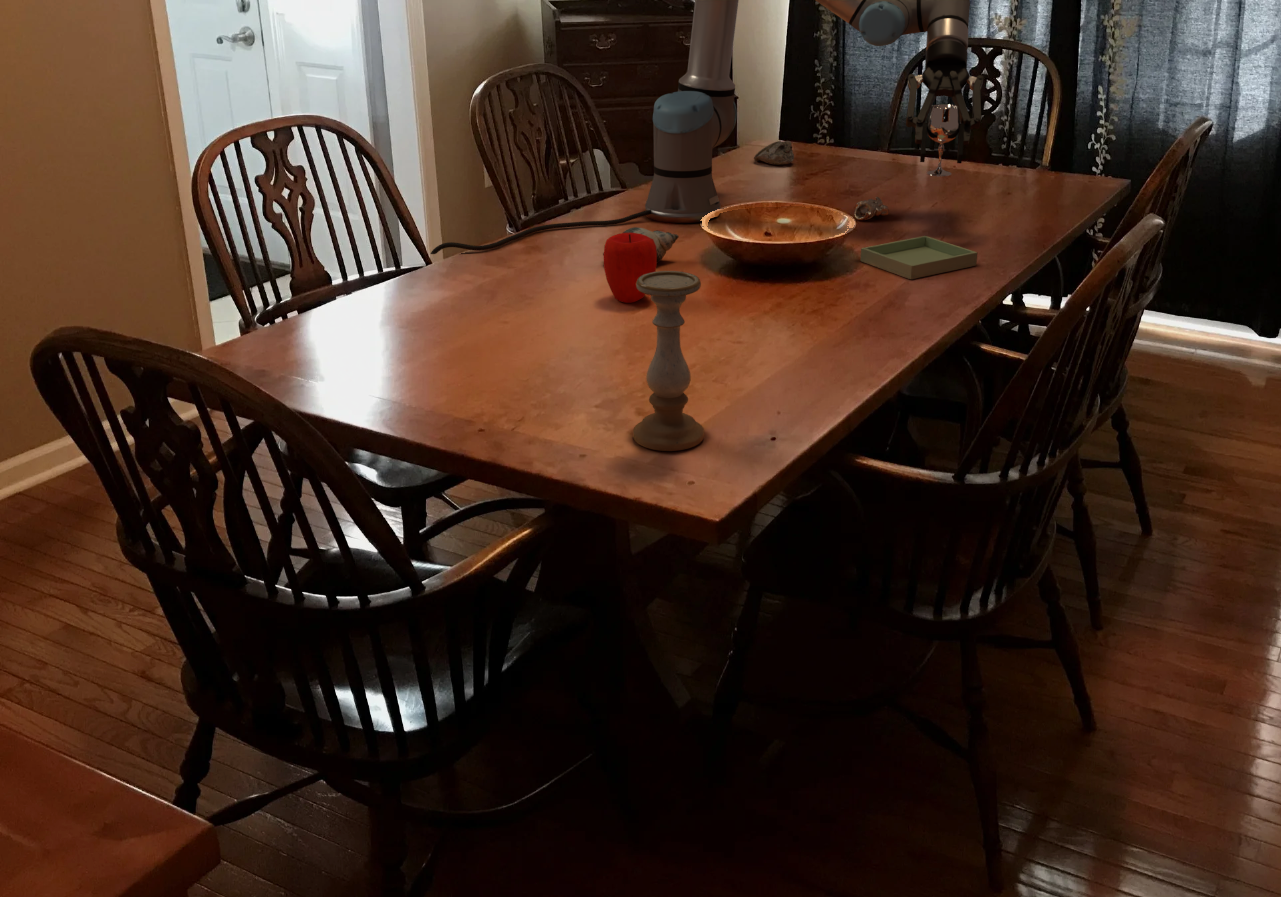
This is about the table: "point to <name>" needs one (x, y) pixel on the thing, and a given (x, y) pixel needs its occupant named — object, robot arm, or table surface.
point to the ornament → (870, 209)
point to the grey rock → (776, 153)
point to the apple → (628, 264)
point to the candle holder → (668, 366)
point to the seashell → (656, 239)
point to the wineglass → (942, 130)
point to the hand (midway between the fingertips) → (941, 158)
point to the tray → (918, 257)
